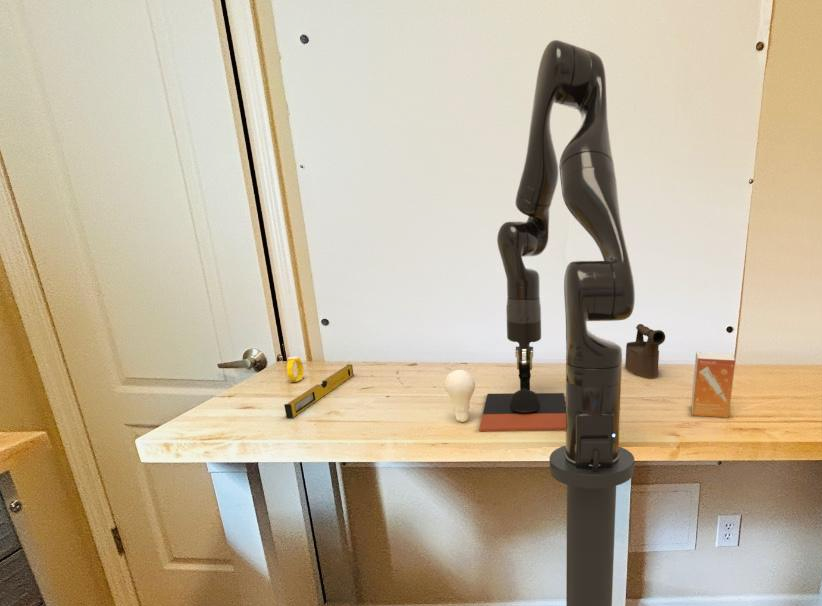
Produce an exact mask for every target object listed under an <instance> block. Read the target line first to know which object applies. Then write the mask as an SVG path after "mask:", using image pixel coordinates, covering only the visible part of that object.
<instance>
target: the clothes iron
mask: <svg viewBox="0 0 822 606" xmlns="http://www.w3.org/2000/svg"><path fill="white" fill-rule="evenodd" d="M635 329H636V331H637V332H636V337H635V341H629V342H626V346H625V363H624V368H625V370H627V371H628V372H629V373H632V374H633V375H635V376H637V377H642V378H645V379H655V378H657V377H658V376H659V362H660V361H659V359H660V350H659V347H660V345H662V344H664V343H665V340H666V334H665V331H663V330H661V329H655V330H654V329H651V328H650V327H649V326H645V325H644V324H642V323H638V324H637V325H636V326H635ZM644 336H646V337H647V339H646V340H645V339H644Z"/></svg>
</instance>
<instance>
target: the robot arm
mask: <svg viewBox="0 0 822 606" xmlns="http://www.w3.org/2000/svg"><path fill="white" fill-rule="evenodd" d="M607 94H608V93H607V77H606V69H605V64H604V62H603V60H602V58H601V57H600V56H599V55H598V54H596V53H595V52H593V51H591V50H589V49H585V48H583V47H579V46H577V45H574V44H571V43H568V42H566V41H562V40H559V39H554V40H551V41H550V42H549V43H548V44H547V45H546V47H545V49H544V50H543V53H542V55H541V58H540V61H539V66H538V70H537V76H536V81H535V88H534V94H533V95H534V96H533V103H532V109H531V116H530V123H529V131H528V139H527V147H526V154H525V159H524V165H523V169H522V172H521V176H520V180H519V184H518V187H517V191H516V195H515V203H514V204H515V207H516V209H517V210H518V211H519V212H520V213H521V214H523V215H525V216H527V220H521V221H515V220H514V221H511V220H510V221H505V222H503V223H502V224H501V226H499V229H498V232H497V236H496V243H497V249H498V252H499V255H500V259H501V262H502V266H503V269H504V273H505V279H506V298H507V299H506V307H505V308H506V309H505V311H506V339H507V340H509V341H510V342H513V343H518V346H515V349H514V350H515V352H514V353H515V358H516V369H517V370H518V378H519V390H521V389H523V388H525V389H528V390H530V391H531V378H532V373H531V371H532V370H533V358H534V346H531V345H530V344H531V343H537V342H539V341H540V340H541V339H542V305H541V291H540V290H541V286H540V285H541V284H540V282H541V281H540V280H541V279H540V274H539V272H538V271H537V270H536V269H533V268H530V267H526V265H525V263H524V261H523V258H528V257H537V256H540V255H541V254H542V253H543V252H544V251H545V249H546V248H547V246H548V244H549V237H550V236H549V235H550V229H549V228H550V211H551V210H550V209H551V206H552V202H553V199H554V197H555V193H556V189H557V186H558V182H559V178H560V188H561V195H562V199H563V202H564V204H565V206H566V208H567V210H568V211H569V213H570V214H571V215H572V217H573V218H574V219H575V221H577V223H578V224H579V225H580V226H581V227H582V229H583V230H584V231H585V232H586V233H587V234H588V235H589V237H590V238H591V239H592V241H594V243H595V244H596V246H597V248H598V249H599V252H600V253H601V256H602V259H603V260H574V261H573V260H572V261H570V262H569V263H568V264H567V266H566V268H565V272H564V276H563V296H564V297H563V298H564V317H565V404H566V430H565V445H566V452H565V459H566V460H567V461H568V462H569V463H570V464H572V465H575V466H576V468H577V469H581V468H593V471H598V468H612V467H613V464H615V463H616V462H617V461H618V460H619V453H618V452H619V447H620V421H621V420H620V419H621V396H622V395H621V392H622V391H621V390H622V370H623V367H622V366H623V348H622V346H621V345H620V344H619V343H616V342H614V341H613V340H610V339H606V338H603V337H600V336H598V335H596V334H595V333H592V331H590V329H588V322H616V321H617V322H618V321H625V320H627V319H629V318H630V317H631V316H632V315H633V312H634V308H635V305H636V304H635V303H636V288H635V279H634V275H633V270H632V265H631V261H630V256H629V251H628V247H627V243H626V239H625V234H624V229H623V224H622V219H621V212H620V203H619V194H618V193H619V192H618V184H617V175H616V170H615V169H616V168H615V163H614V157H613V151H612V145H611V138H610V129H609V119H608V96H607ZM554 104H556V105H560V106H564V107H567V108H571V109H573V110H575V111H578V113H579V115H580V118H581V124H580V126H579V128H578V129H577V130H576V132H575V133H574V135H573V136H572V137H571V138H570V140H569V141H568V143H567V144H566V146H565V147H564V149H563V151H562V153H561V156H560V159H559V162H558V158H557V153H556V149H555V146H554V142H553V141H554V140H553V137H552V130H551V118H552V110H553V106H554Z"/></svg>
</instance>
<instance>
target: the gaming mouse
mask: <svg viewBox="0 0 822 606" xmlns="http://www.w3.org/2000/svg"><path fill="white" fill-rule="evenodd" d="M536 393H537V392H534V391H533V390H531V389H530V390H528V389H525V388H523V389H521V390H520V389H519V390H517V391H515V392H513V395H512V396H511V401H510V407H511V410H512V411H514V412H520V413H530V412H534V411H537V410H539V408H540V403H539V399H538V397H537V394H536Z"/></svg>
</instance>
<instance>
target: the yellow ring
mask: <svg viewBox="0 0 822 606" xmlns="http://www.w3.org/2000/svg"><path fill="white" fill-rule="evenodd" d="M286 360H287V363H286V374H287V378H288V380H289V381H290V382H291V383H297V382H299V381H301V380H303V377H304V366H303V362H302V361H301V356H295V355H294V356H289V357H287V358H286ZM294 364H295V365H296V370H297V371H296V372H297V373H296V376H295V375H294Z"/></svg>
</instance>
